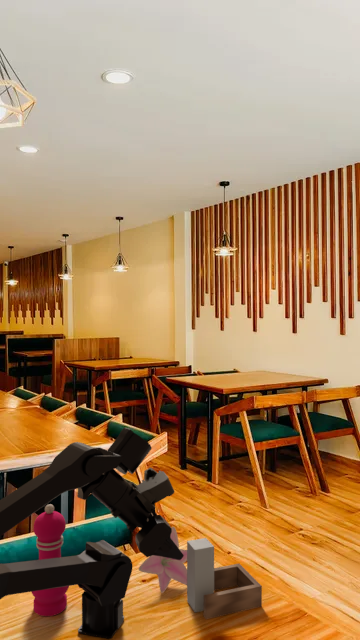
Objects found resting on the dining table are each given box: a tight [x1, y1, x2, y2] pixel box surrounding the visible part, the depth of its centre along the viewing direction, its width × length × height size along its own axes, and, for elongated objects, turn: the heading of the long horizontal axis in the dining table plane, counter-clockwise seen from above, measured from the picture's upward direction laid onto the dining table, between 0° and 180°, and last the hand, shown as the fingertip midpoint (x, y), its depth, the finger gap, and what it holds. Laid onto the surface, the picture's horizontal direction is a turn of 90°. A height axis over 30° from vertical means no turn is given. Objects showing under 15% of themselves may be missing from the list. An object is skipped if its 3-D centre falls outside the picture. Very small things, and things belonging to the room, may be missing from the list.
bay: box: [203, 563, 263, 620], centre depth 104 cm, size 12×10×4 cm
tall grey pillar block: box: [186, 537, 215, 613], centre depth 102 cm, size 4×4×12 cm
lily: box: [138, 526, 187, 594], centre depth 111 cm, size 12×12×10 cm
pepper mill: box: [31, 503, 70, 617], centre depth 101 cm, size 7×7×20 cm
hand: (175, 546), depth 99 cm, fingers open, 9 cm apart
